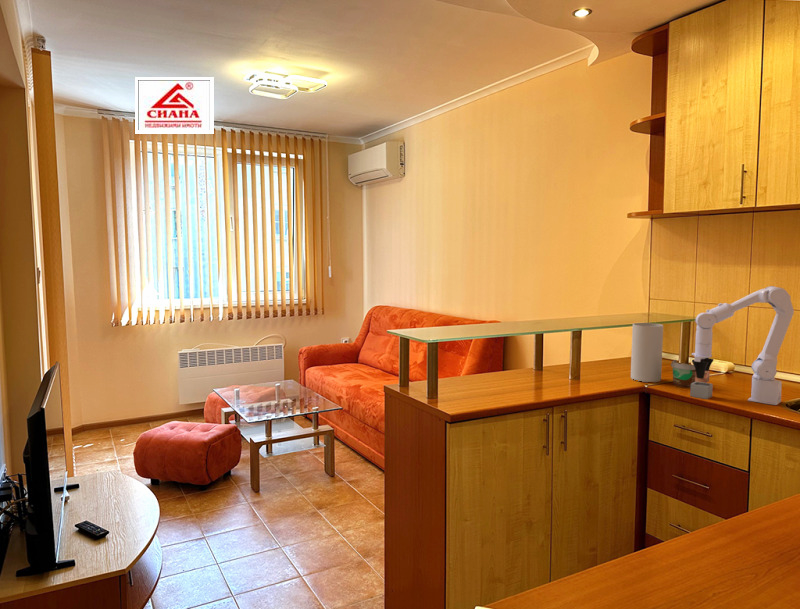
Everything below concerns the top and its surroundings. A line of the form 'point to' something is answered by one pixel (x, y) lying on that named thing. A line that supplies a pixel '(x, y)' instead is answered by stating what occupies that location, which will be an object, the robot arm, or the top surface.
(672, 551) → the top surface
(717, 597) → the top surface
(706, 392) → the socket base
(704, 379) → the terracotta cube
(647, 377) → the cylinder vase
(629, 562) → the top surface
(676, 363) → the food container
